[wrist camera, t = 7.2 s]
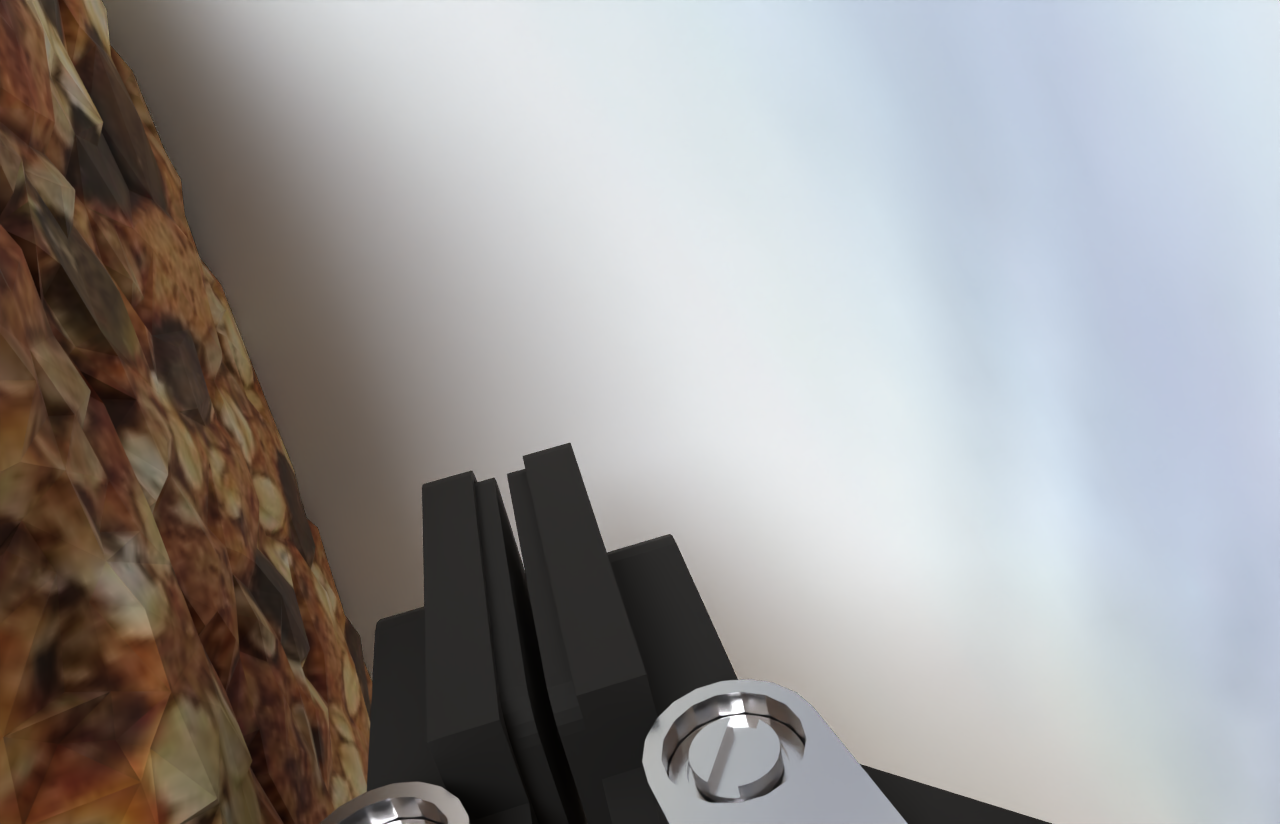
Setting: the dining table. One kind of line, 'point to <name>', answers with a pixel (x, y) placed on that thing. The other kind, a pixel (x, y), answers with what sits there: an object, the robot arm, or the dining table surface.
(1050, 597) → the dining table surface
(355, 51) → the dining table surface
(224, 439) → the bread
